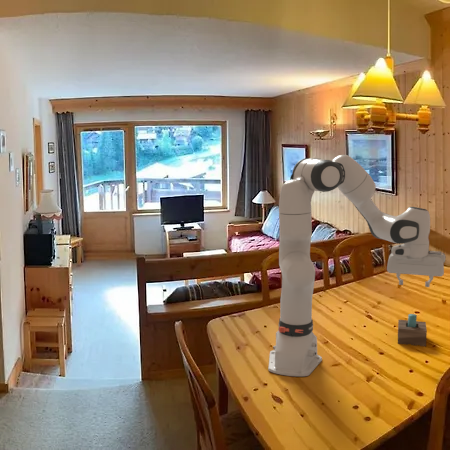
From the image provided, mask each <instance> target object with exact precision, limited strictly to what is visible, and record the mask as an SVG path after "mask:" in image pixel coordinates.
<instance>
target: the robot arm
mask: <svg viewBox="0 0 450 450" xmlns="http://www.w3.org/2000/svg"><path fill="white" fill-rule="evenodd" d="M376 187H377V185H376V183H375V181H374V179H373V178H372V176H371V175H370V174H369V173H368V172H367V170H365V168H364V167H363V166H362V165H361V164H360V163H359V162H357V161H356V160H355V159H354V158H352V157H351V156H350V155H347V154H340V155H339V154H338V155H337V156H335V157H334V158H332V159H331V160H330V159H323V158H320V157H305V158H302V159H300V160H298V161H296V164H294V166H293V169H292V172H291V175H290V179H289V180H287V181H285V182H284V183H283V184H282V185H281V187H280V192H279V200H278V222H279V223H278V224H279V228H278V229H279V238H278V239H279V243H278V265H279V269H280V271H281V292H280V293H281V294H280V307H279V308H280V310H279V311H280V312H279V313H280V315H279V316H280V318H279V321H278V330H277V331H276V332H275V345H273V347H272V349H273V350H270V351H269V357H268V358H269V359H268V368H267V369H268V371H269V372H270V373H273V374H276V375H281V376H288V377H308V376H310V375H311V374H312V373H313V371H314V370H315V369H316V368H317V367H318V365H319V364H321V362H322V361H323V357H322V356H321V355H319V354H318V336H316V335H315V333H314V331H313V330H314V323H313V319H312V318H313V317H312V314H313V313H312V312H313V309H312V308H313V294H314V287H315V278H316V267H315V264H314V262H313V261H312V260H311V241H312V235H313V232H312V230H313V228H312V226H313V225H312V224H313V223H312V222H313V221H312V220H313V219H312V217H313V216H312V197H313V195H314V193H315V192H321V193H327V192H331V191H334V190H336V189H338V190H339V191H340V192H341V193H342V194H343V196H345V198H347V199H348V201H350V202H351V204H352V205H353V206H354V207H355V209H356V210H357V211H358V212H359V213H360V215H361V216H362V217H363V218H364V220H365V222H366V223H367V225H368V229H369V232H370V233H371V235H372V236H373V237H374V238H376V239H379V240H384V241H388V242H390V243H393V244H397V245H394V246H392V247H391V253H390V254H389V255H388V260H387V264H386V265H387V266H386V271H387V273H389V274H395V276H396V278H397V280H398V285H400V286H403V285H404V279H402V278H401V275H413V276H414V275H415V276H416V275H418V276H426V277H427V276H428V278H429V279H428V280H426V281H425V282H424V283H425V284H424V286H425V288H430V286H431V283H432V281H433V280H434V277H442V276H444V273H445V267H444V263H445V262H446V258H447V257H446V254H445V253H444V252H442V251H440V250H439V251H437V250H430V239H429V236H430V232H431V214H430V212H429V211H428V210H427V209H426V208H421V207H415V206H409V207H407V209H406V210H405V211H403V213H400V214H399V215H391V214H388V213H385V212H383V211H381V210H380V209H379V208H378V206H377V205H376V203H374V201H373V200H372V198H373V196H374V195H375V192H376Z"/></svg>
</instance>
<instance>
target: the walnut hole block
mask: <svg viewBox="0 0 450 450" xmlns="http://www.w3.org/2000/svg"><path fill="white" fill-rule="evenodd" d="M397 322H398V324H397V327H398V328H397V344H401V345H408V344H411V346H417V345H420V346H419V347H426V346H427V335H428V334H427V331H428V330H427V323H426V321H419V320H416V328H415V327H408V319H407V320H406V319H398V321H397Z"/></svg>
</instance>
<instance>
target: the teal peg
mask: <svg viewBox="0 0 450 450" xmlns="http://www.w3.org/2000/svg"><path fill="white" fill-rule="evenodd" d="M407 316H408V317H407V320H408V327H415V328H416V321H417V317H418V316H417V315H416V314H415V313H409V314H408V315H407Z"/></svg>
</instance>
